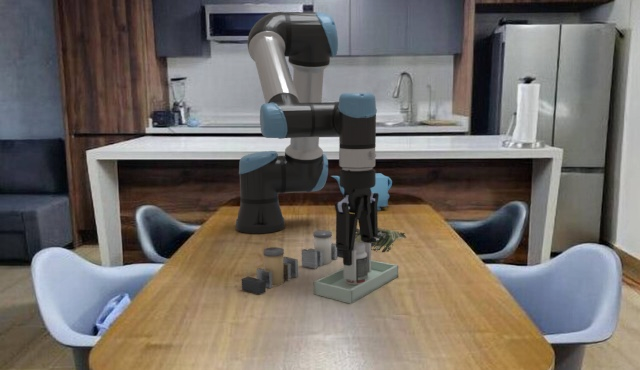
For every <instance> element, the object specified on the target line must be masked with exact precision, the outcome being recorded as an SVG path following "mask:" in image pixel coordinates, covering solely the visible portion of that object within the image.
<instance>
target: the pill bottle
mask: <svg viewBox="0 0 640 370" xmlns="http://www.w3.org/2000/svg"><path fill="white" fill-rule="evenodd" d="M354 250H356V280H355V281H353V280H349V279H346V282H347V283H348V284H352V285H359V284H361V283H363V282H365V281H367V280H368V267H367V253H366V252H365V244H364V243H362V242H355V243H354Z"/></svg>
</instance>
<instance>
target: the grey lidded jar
mask: <svg viewBox="0 0 640 370" xmlns="http://www.w3.org/2000/svg"><path fill="white" fill-rule="evenodd" d="M312 234H313V240H314V241H313V247H314V248H313V249H316V250H320V251H322V259H323V265H328V264H330V263H332V260H333V259H331V244H332V236H333V233H332V231H330V230H326V229H325V230H315V231H314V232H313V233H312Z"/></svg>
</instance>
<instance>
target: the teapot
mask: <svg viewBox="0 0 640 370" xmlns="http://www.w3.org/2000/svg"><path fill="white" fill-rule="evenodd" d="M330 177H331V178H334V179H335V180H336V181H337V183H338V186H339V189H340V192H341V194H342V196H343V195H344V188H343V187H341V186H340V176H339V175H330ZM392 184H393V180H392V179H391V178H390V176H387V175H384V174H383V173H379V172H378V173H377V172H376V184H375V186H374V187H372V188H371V193H378V194H379V197H378V203H377V212H380V211H382V209H381V207H383V208H384V207H388V202H389V199H390V194H389V190H390V189H391V187H392Z"/></svg>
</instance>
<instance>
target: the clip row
mask: <svg viewBox="0 0 640 370" xmlns="http://www.w3.org/2000/svg"><path fill="white" fill-rule="evenodd" d="M338 257H340V258H343V250H342V249H339V248H336V243H332V242H331V260H334V261H336V260H337V259H338ZM283 266H284V281H290V280H292V278H298V277H299V259H297V258H293V257H289V256H283ZM321 266H324V264H323V259H322V251H320V250H316V249H314V248H309V249H306V248H302V249H301V267H305V268H310V269H312V270H313V269H314V270H316V269H318V267H321ZM273 287H274V286H273V284H272V271H270V270H266V269H264V268H261V267H260V268H257V269H256V278H255V277H252V276H246V277H244V278H241V290H242V291H245V292H249V293H252V294H255V295H258V296H260V295H262V294H265V293H266V292H267V289H271V288H273ZM266 288H267V289H266Z"/></svg>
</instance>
